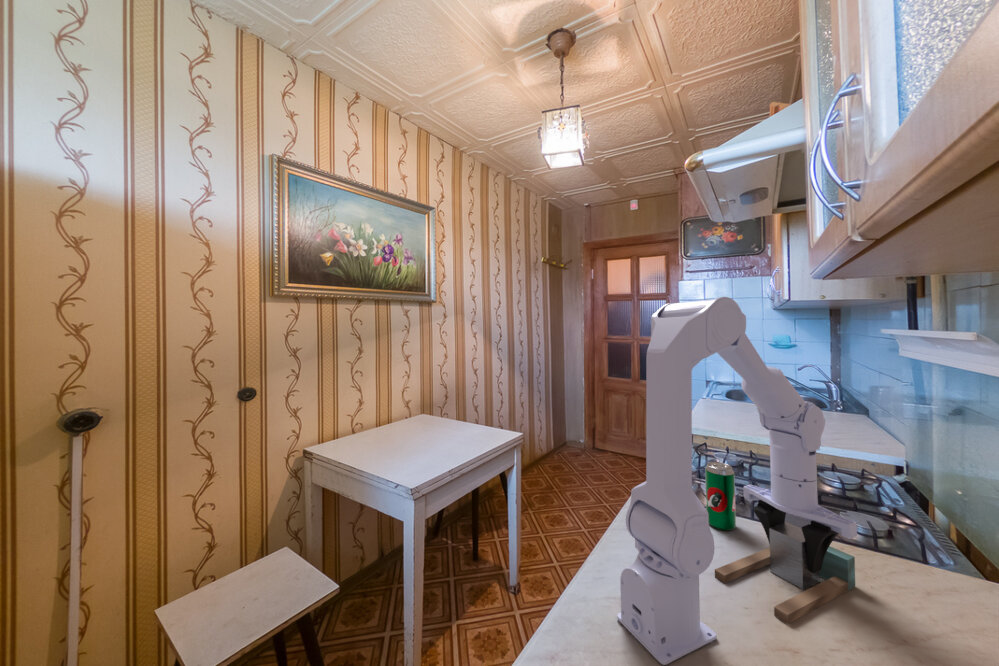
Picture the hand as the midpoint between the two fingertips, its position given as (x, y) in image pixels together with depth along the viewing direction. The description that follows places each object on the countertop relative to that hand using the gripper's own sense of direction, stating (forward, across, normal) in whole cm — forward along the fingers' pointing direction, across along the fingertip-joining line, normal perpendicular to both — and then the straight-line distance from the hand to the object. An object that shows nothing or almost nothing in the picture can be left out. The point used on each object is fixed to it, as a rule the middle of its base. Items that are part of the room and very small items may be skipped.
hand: (795, 560), depth 57 cm
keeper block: (+2, 0, 0) cm, 2 cm away
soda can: (+3, +15, -4) cm, 16 cm away
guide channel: (+2, 0, +4) cm, 5 cm away
